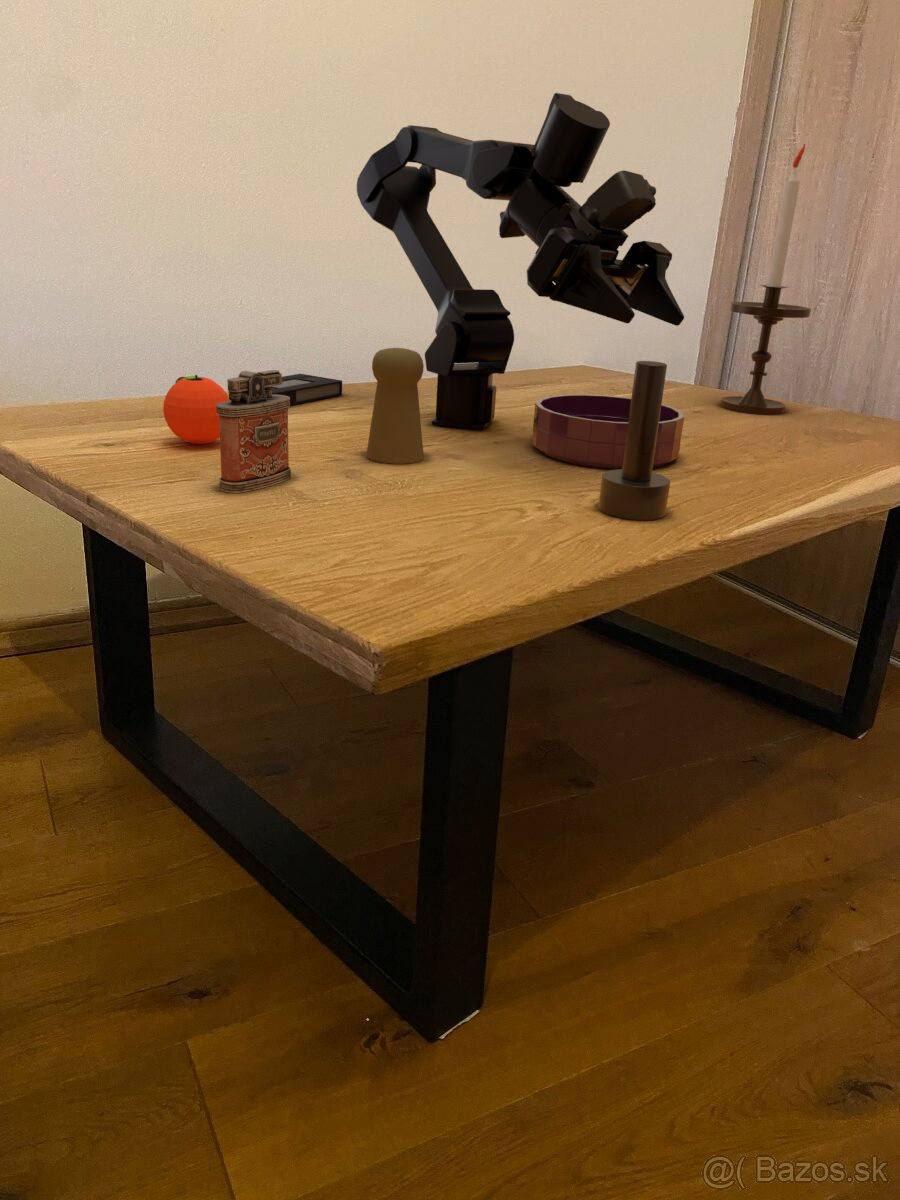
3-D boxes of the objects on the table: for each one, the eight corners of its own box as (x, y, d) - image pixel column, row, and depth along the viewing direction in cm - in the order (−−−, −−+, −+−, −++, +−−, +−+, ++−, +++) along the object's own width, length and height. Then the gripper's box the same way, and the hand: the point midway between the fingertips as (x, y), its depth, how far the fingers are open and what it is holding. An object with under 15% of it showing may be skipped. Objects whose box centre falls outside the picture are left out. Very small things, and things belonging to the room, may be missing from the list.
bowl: (522, 461, 98) (526, 414, 96) (541, 431, 113) (545, 389, 111) (677, 477, 95) (684, 429, 93) (677, 444, 110) (683, 402, 108)
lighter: (238, 495, 81) (234, 379, 77) (210, 487, 83) (205, 374, 79) (299, 477, 88) (298, 369, 84) (272, 470, 89) (270, 365, 85)
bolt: (595, 515, 81) (613, 364, 76) (600, 497, 87) (617, 355, 82) (665, 523, 80) (688, 371, 75) (665, 505, 86) (687, 361, 81)
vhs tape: (342, 395, 128) (342, 380, 127) (273, 409, 116) (273, 393, 115) (300, 387, 131) (300, 373, 130) (228, 400, 120) (228, 385, 119)
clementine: (147, 439, 98) (142, 371, 96) (203, 431, 103) (200, 366, 100) (189, 454, 93) (185, 382, 91) (246, 445, 98) (244, 377, 95)
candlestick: (798, 408, 138) (850, 147, 124) (780, 419, 129) (833, 139, 116) (726, 398, 143) (768, 146, 129) (704, 407, 134) (747, 139, 121)
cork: (431, 454, 99) (436, 348, 95) (411, 466, 94) (415, 355, 89) (379, 447, 101) (382, 343, 96) (356, 458, 95) (358, 349, 91)
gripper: (543, 134, 84) (656, 237, 78) (651, 165, 97) (754, 255, 91) (484, 243, 90) (584, 345, 85) (593, 258, 104) (685, 347, 98)
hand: (657, 320), depth 90 cm, fingers open, 9 cm apart
